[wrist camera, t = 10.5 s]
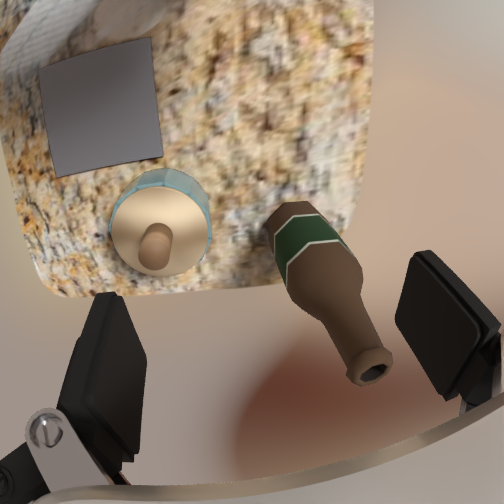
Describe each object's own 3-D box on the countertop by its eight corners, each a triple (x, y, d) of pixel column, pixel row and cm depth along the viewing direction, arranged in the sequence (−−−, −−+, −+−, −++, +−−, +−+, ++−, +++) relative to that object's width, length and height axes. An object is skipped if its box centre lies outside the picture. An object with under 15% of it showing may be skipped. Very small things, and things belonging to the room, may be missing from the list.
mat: (39, 69, 25) (38, 69, 25) (150, 37, 26) (150, 37, 26) (58, 176, 32) (56, 177, 32) (163, 155, 34) (163, 155, 33)
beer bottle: (308, 257, 43) (380, 403, 23) (256, 243, 41) (304, 404, 21) (332, 208, 40) (437, 340, 20) (278, 189, 38) (363, 331, 17)
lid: (102, 195, 29) (87, 215, 25) (200, 178, 30) (200, 196, 26) (127, 277, 35) (119, 305, 30) (214, 266, 36) (216, 294, 31)
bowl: (113, 176, 34) (99, 192, 29) (204, 162, 35) (204, 176, 30) (132, 255, 40) (124, 280, 35) (214, 245, 40) (216, 269, 36)
